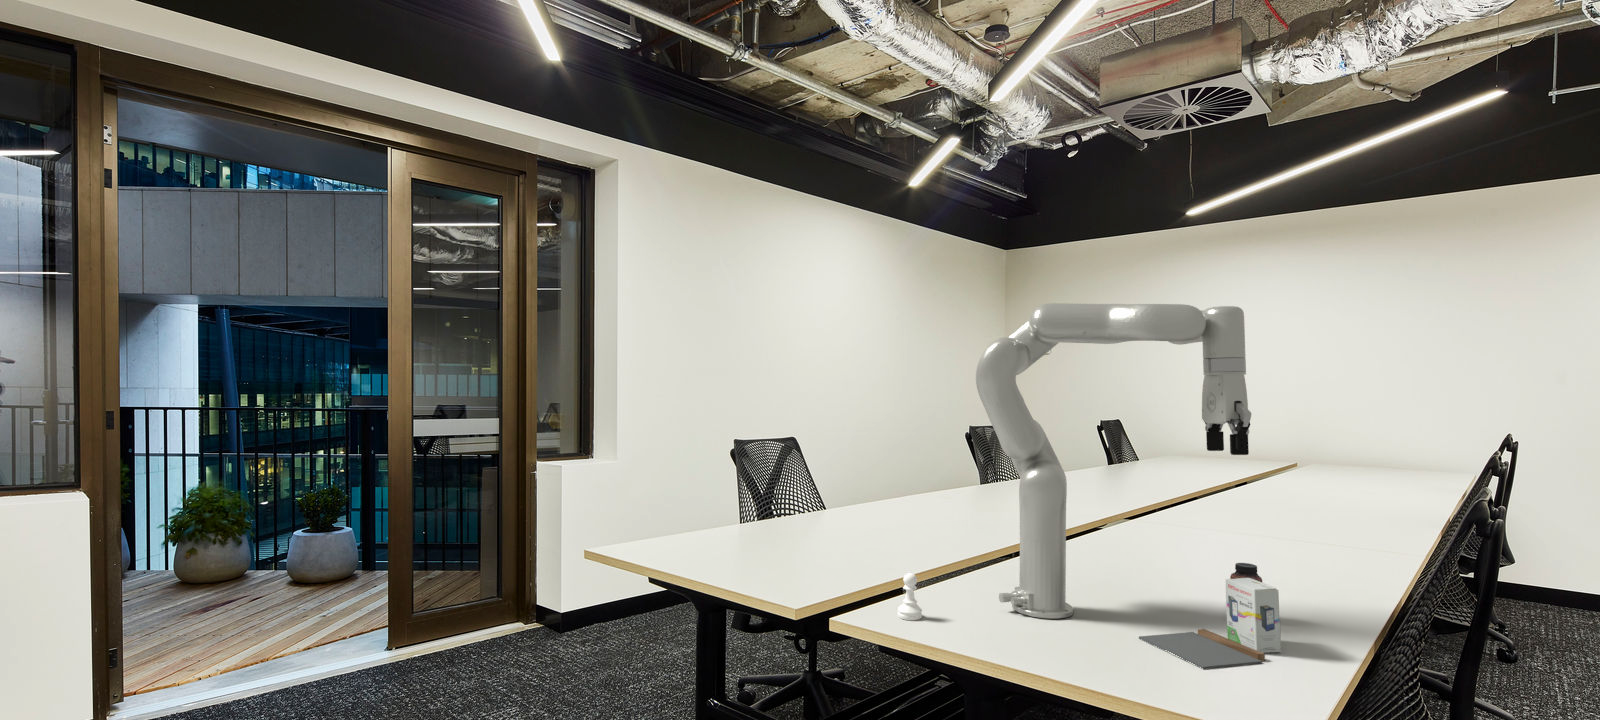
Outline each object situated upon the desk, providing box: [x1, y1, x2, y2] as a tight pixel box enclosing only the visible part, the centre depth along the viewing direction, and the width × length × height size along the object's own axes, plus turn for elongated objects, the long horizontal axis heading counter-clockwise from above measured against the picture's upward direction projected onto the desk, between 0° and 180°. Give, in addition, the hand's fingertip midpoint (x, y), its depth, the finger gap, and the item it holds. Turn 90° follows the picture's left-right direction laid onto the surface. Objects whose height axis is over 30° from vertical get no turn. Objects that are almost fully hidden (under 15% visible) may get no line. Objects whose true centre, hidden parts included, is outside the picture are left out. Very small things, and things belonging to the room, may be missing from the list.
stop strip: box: [1197, 628, 1266, 662], centre depth 142 cm, size 2×14×1 cm, turn 16°
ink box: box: [1225, 578, 1282, 654], centre depth 143 cm, size 9×5×12 cm, turn 6°
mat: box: [1138, 631, 1263, 670], centre depth 140 cm, size 13×16×1 cm
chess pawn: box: [897, 572, 923, 621], centre depth 157 cm, size 5×5×9 cm
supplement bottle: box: [1229, 562, 1263, 583], centre depth 160 cm, size 6×6×11 cm
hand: (1227, 452), depth 152 cm, fingers open, 9 cm apart
